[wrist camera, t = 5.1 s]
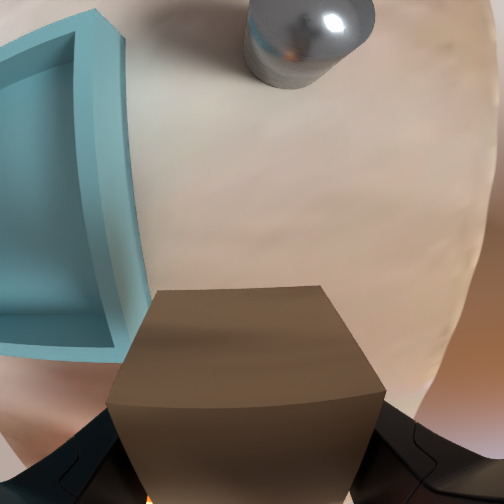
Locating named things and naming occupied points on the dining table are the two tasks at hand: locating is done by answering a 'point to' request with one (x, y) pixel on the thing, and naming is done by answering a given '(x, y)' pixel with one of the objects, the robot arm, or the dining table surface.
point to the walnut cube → (245, 398)
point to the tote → (68, 197)
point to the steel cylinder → (303, 37)
